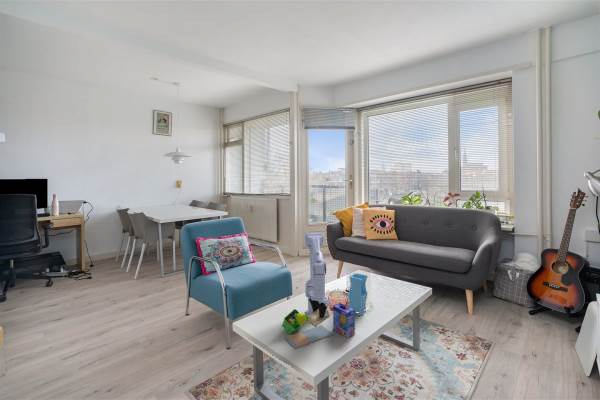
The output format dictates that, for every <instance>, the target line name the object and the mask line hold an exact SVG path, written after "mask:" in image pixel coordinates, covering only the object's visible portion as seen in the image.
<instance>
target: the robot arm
mask: <svg viewBox="0 0 600 400" xmlns="http://www.w3.org/2000/svg"><path fill="white" fill-rule="evenodd" d="M324 237H325V235H324V233H323V232H305V234H304V243H305V248H306V249H308V251H309V268H310V270H309V272H310V273H309V274H310V277H309V279H308V280H307V281H306V282H305V287H304V288H305V290H304V291H305V292H304V293H305V294H304V295H305V297H306V298H307V310H304V313H305V314H307V315H308V316H309V315H310V314H312V313H313V312H314V311H316V310H317V309H319V316H320V318H324V316H325V312H326V309H328V307H330V306H331V302H330V301H329V300H328V298H327V297H326V275H327V264H326V261H325V260H324V254H323V252H322V251H321V248H322V247H323V245H324V241H325V238H324Z"/></svg>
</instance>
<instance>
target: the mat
mask: <svg viewBox="0 0 600 400" xmlns="http://www.w3.org/2000/svg"><path fill="white" fill-rule="evenodd" d="M333 335H334V333H333V332H332V331H330V330H329V329H327V328H326V327H324V325H322V324H321V325H320V324H319V325H318V326H317V327H314V326H313V327H311V328H309V329H306V330H302V331H300V332H297V333H294V334H291V335H287V336H285V337H284V339H285V341H287V342H288V343H289V344H290V346H292V347H293V348H294V349H295V350H296V349H299V348H302V347H304V346H307V345H309V344H312V343H314V342H317V341H320V340H323V339H325V338H328V337H331V336H333Z"/></svg>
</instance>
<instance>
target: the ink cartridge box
mask: <svg viewBox="0 0 600 400" xmlns="http://www.w3.org/2000/svg"><path fill="white" fill-rule="evenodd" d="M332 308H333V309H332V310H333V311H332V315H333V317H332V326H333V327H332V328H333V331H336V332H337V333H339V334H341V335H342V336H344V337H346V338H349V337H351V336H353V335H356V325H355V324H356V319H355V318H356V316H355V315H356V314H355V310H354V309H352V308H350V307H349V305H348V306H347V305H346V304H344V303H341V302H338V303H337V304H333V305H332Z"/></svg>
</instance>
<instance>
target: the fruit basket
mask: <svg viewBox="0 0 600 400" xmlns="http://www.w3.org/2000/svg"><path fill="white" fill-rule="evenodd" d="M308 316H309V315H308V314H307V313H302V312H299V311H298V310H297V309H296V308H294V309H293V310H291V311H290V312H289V313H288V314H287V315H286V316H285V317H284V318H283V321H282V324H281V327H283V329H284V330H285V331H286V332H287V333H288V334H289V335H290V334H292V333H293V332H294V331H296V330H297V329H298V328H300V327H301V326H303V325H304V324H306V323H307V322H309V319H308Z"/></svg>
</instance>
